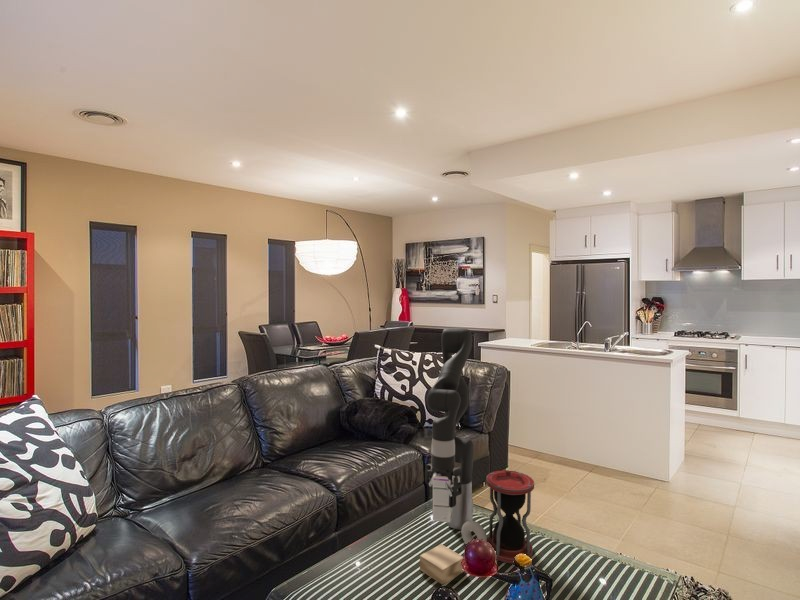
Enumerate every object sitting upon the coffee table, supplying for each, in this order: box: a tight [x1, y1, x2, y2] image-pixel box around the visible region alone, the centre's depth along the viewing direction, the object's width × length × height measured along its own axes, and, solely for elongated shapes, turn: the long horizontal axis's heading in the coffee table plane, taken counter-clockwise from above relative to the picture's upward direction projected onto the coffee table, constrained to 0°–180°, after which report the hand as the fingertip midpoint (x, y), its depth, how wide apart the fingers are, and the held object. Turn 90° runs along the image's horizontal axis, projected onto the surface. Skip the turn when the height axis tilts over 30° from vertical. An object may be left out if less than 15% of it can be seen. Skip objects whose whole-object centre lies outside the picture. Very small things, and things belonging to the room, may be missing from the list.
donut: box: [460, 520, 488, 545], centre depth 166 cm, size 10×4×10 cm, turn 47°
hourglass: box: [485, 470, 535, 564], centre depth 165 cm, size 16×16×25 cm
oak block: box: [419, 543, 465, 586], centre depth 154 cm, size 10×10×5 cm
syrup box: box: [432, 473, 452, 523], centre depth 153 cm, size 6×6×14 cm
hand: (442, 501), depth 153 cm, fingers closed on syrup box, 7 cm apart
